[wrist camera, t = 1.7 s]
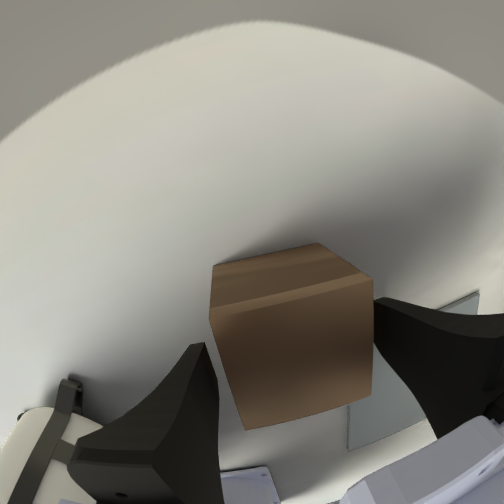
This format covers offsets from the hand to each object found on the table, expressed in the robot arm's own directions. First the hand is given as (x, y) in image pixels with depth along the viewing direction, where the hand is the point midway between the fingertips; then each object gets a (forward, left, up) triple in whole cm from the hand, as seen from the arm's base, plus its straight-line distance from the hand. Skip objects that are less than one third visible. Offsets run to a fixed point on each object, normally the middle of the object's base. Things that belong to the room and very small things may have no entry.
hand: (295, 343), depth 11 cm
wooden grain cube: (0, 0, -4) cm, 4 cm away
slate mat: (-10, -10, -4) cm, 15 cm away
